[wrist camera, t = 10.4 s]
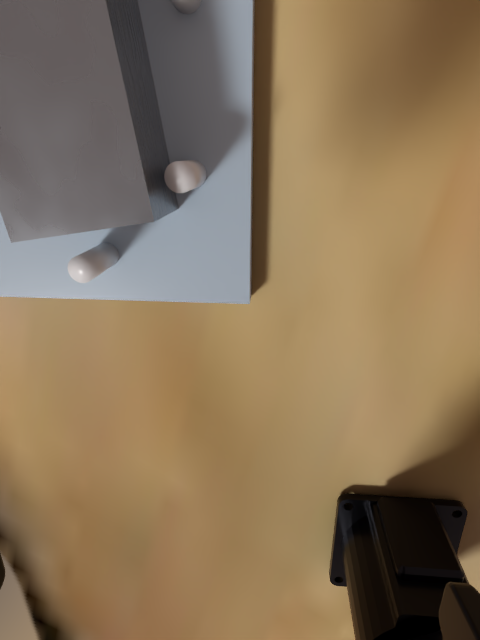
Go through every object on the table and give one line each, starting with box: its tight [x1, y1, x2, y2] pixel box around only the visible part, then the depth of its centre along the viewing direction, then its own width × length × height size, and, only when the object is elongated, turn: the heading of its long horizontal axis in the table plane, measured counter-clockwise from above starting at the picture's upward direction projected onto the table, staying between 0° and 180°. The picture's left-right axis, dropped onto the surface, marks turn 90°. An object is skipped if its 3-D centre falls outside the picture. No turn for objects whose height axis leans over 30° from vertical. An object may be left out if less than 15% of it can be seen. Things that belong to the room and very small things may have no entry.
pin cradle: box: [0, 0, 255, 304], centre depth 14 cm, size 16×12×4 cm
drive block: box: [0, 0, 179, 243], centre depth 13 cm, size 9×5×4 cm, turn 9°
